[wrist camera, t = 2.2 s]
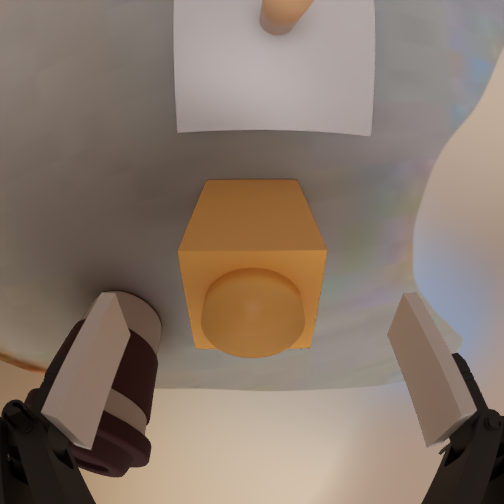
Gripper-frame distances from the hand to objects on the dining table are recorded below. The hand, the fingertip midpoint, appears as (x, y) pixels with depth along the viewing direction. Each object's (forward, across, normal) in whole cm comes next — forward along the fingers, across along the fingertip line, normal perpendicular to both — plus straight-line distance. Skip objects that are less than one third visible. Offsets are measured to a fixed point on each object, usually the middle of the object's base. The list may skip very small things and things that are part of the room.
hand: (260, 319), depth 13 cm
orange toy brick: (+10, 0, 0) cm, 10 cm away
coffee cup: (+10, -12, -10) cm, 19 cm away
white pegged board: (+10, +1, +14) cm, 17 cm away
